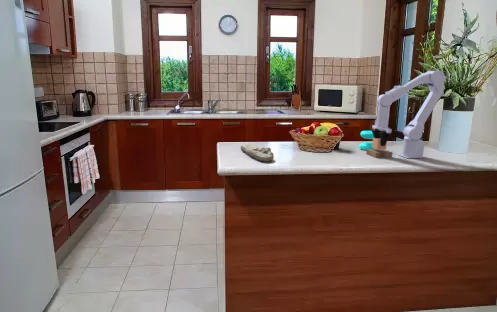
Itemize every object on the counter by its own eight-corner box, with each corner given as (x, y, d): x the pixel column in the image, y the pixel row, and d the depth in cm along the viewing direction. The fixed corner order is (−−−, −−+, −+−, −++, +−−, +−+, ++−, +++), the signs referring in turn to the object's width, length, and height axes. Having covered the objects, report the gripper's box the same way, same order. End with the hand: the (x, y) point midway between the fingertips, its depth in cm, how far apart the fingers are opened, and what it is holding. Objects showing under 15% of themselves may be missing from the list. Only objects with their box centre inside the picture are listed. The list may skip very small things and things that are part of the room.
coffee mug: (328, 150, 194) (330, 132, 192) (322, 147, 203) (323, 129, 200) (348, 149, 197) (349, 131, 194) (341, 146, 205) (342, 129, 203)
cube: (380, 147, 185) (382, 138, 184) (386, 149, 180) (387, 139, 179) (372, 147, 184) (373, 138, 183) (376, 149, 179) (378, 139, 178)
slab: (381, 154, 188) (382, 148, 188) (391, 158, 180) (392, 152, 179) (366, 154, 187) (366, 149, 186) (375, 158, 178) (375, 152, 178)
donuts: (360, 129, 203) (378, 131, 200) (358, 147, 205) (377, 148, 202) (360, 132, 193) (380, 133, 191) (359, 150, 196) (378, 151, 193)
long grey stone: (253, 150, 198) (236, 152, 195) (253, 141, 197) (236, 142, 194) (279, 161, 165) (259, 163, 162) (279, 150, 164) (259, 152, 161)
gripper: (368, 116, 185) (365, 142, 188) (383, 120, 171) (380, 147, 174) (380, 116, 186) (377, 142, 189) (396, 120, 173) (393, 147, 176)
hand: (379, 144), depth 182 cm, fingers closed on cube, 5 cm apart
